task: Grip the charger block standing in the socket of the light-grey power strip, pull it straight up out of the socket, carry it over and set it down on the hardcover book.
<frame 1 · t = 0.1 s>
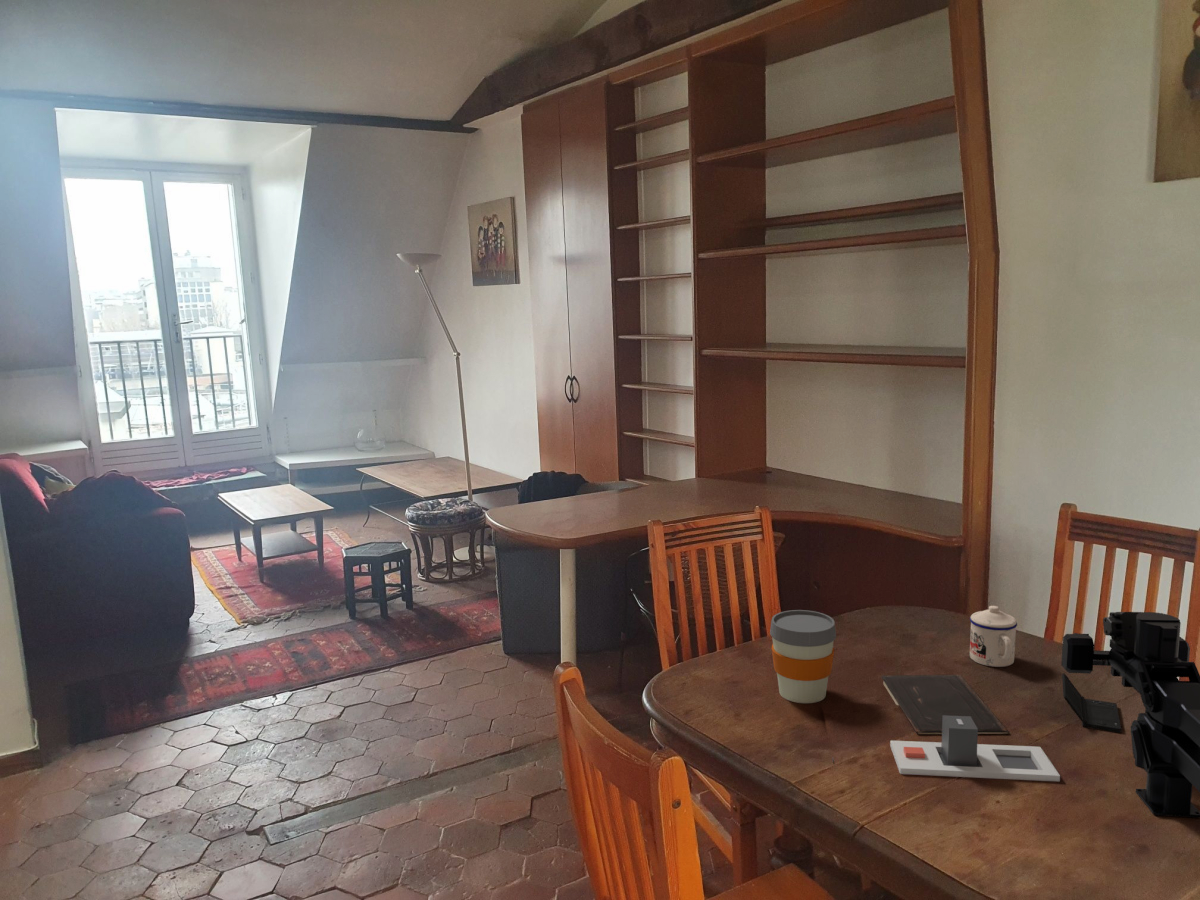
hand: (1103, 636, 152), 17 cm above the table, tool horizontal, fingers open, 9 cm apart
reusable coffee cup: (802, 693, 171), on the table
power strip: (971, 768, 142), on the table
charger: (958, 762, 142), point 1 cm above the table, touching power strip
handheld gaming console: (1089, 717, 158), on the table
hardcover book: (940, 713, 162), on the table
teacup with lid: (994, 662, 182), on the table
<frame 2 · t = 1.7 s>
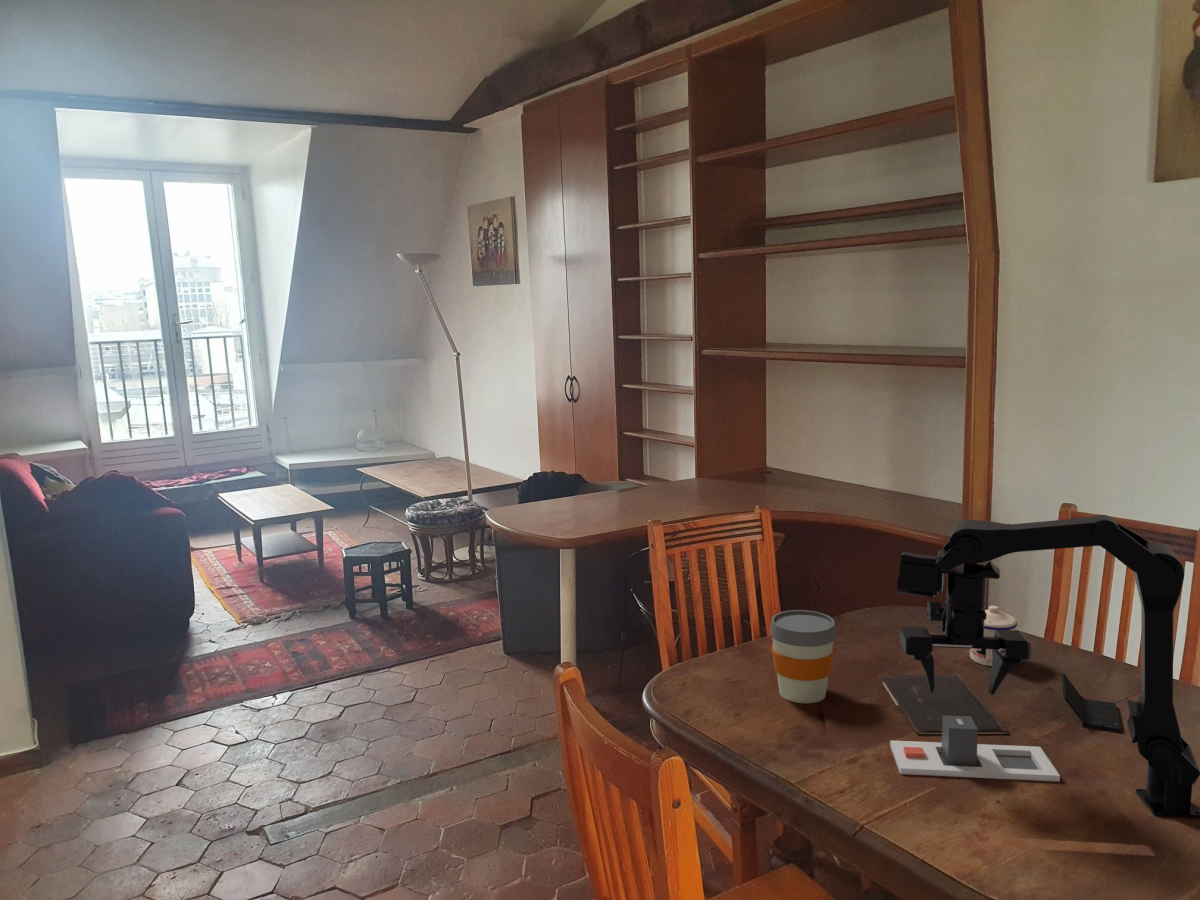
hand: (961, 692, 140), 13 cm above the table, tool pointing down, fingers open, 9 cm apart
nothing on the table moved.
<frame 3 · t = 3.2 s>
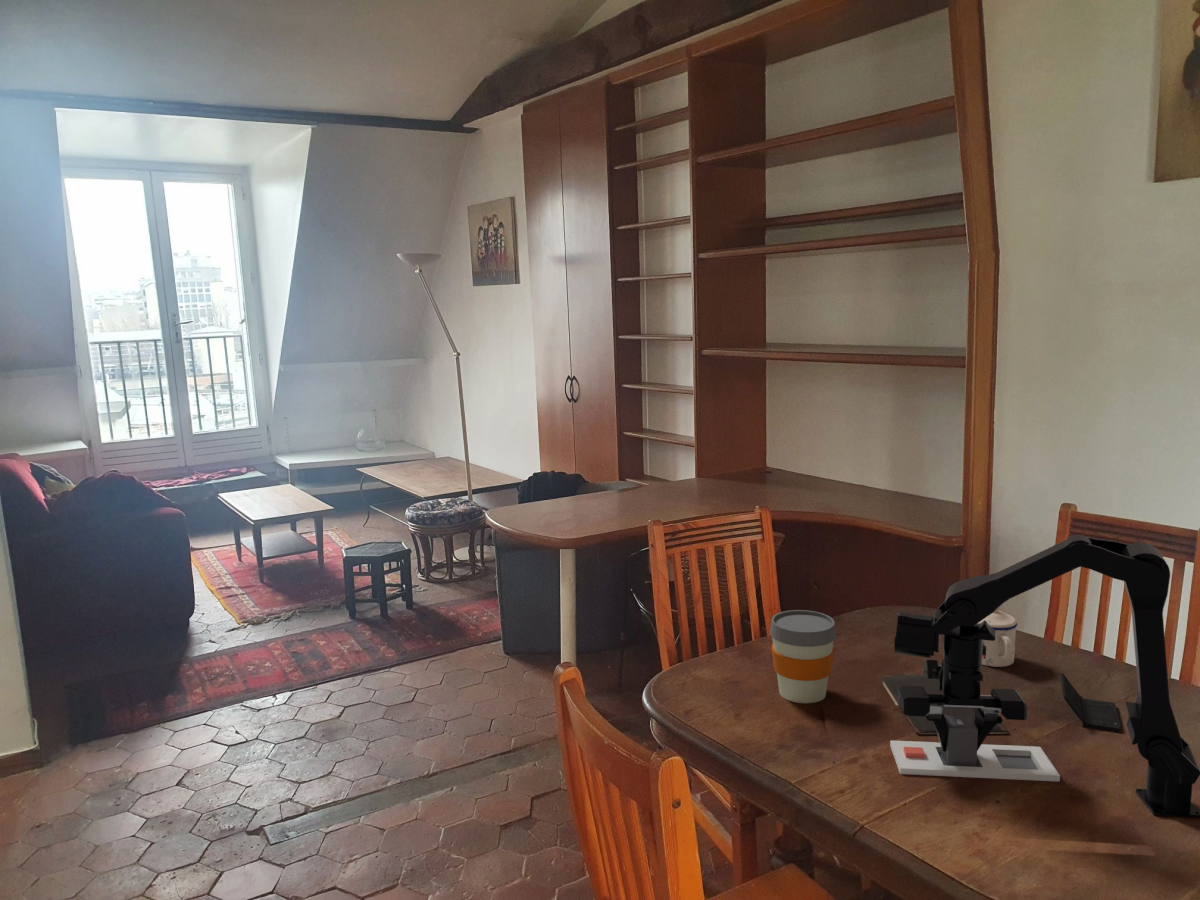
hand: (958, 750, 142), 3 cm above the table, tool pointing down, fingers closed on charger, 4 cm apart
charger: (958, 762, 142), point 1 cm above the table, touching gripper, power strip
everything else where it was.
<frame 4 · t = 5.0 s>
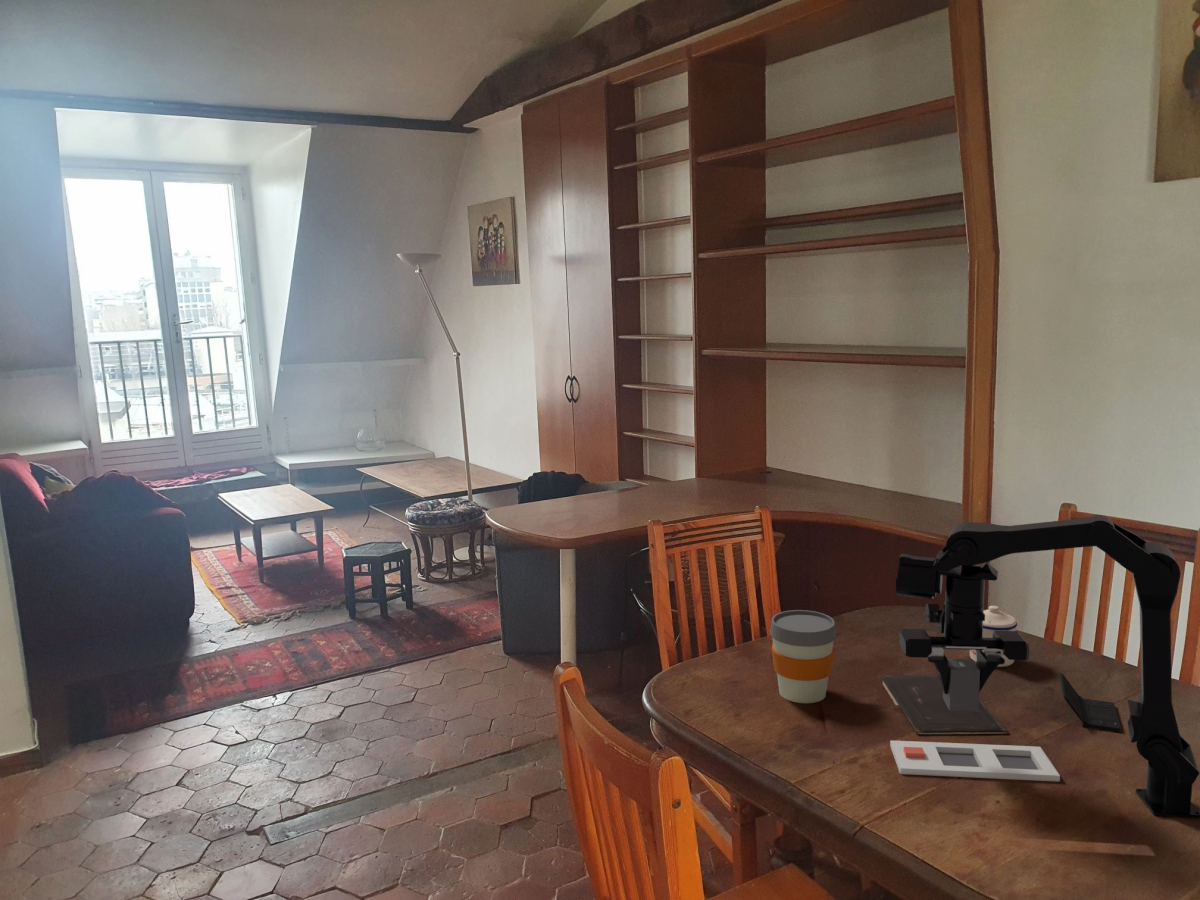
hand: (960, 693, 141), 12 cm above the table, tool pointing down, fingers closed on charger, 4 cm apart
charger: (960, 704, 141), point 11 cm above the table, touching gripper
everything else where it was.
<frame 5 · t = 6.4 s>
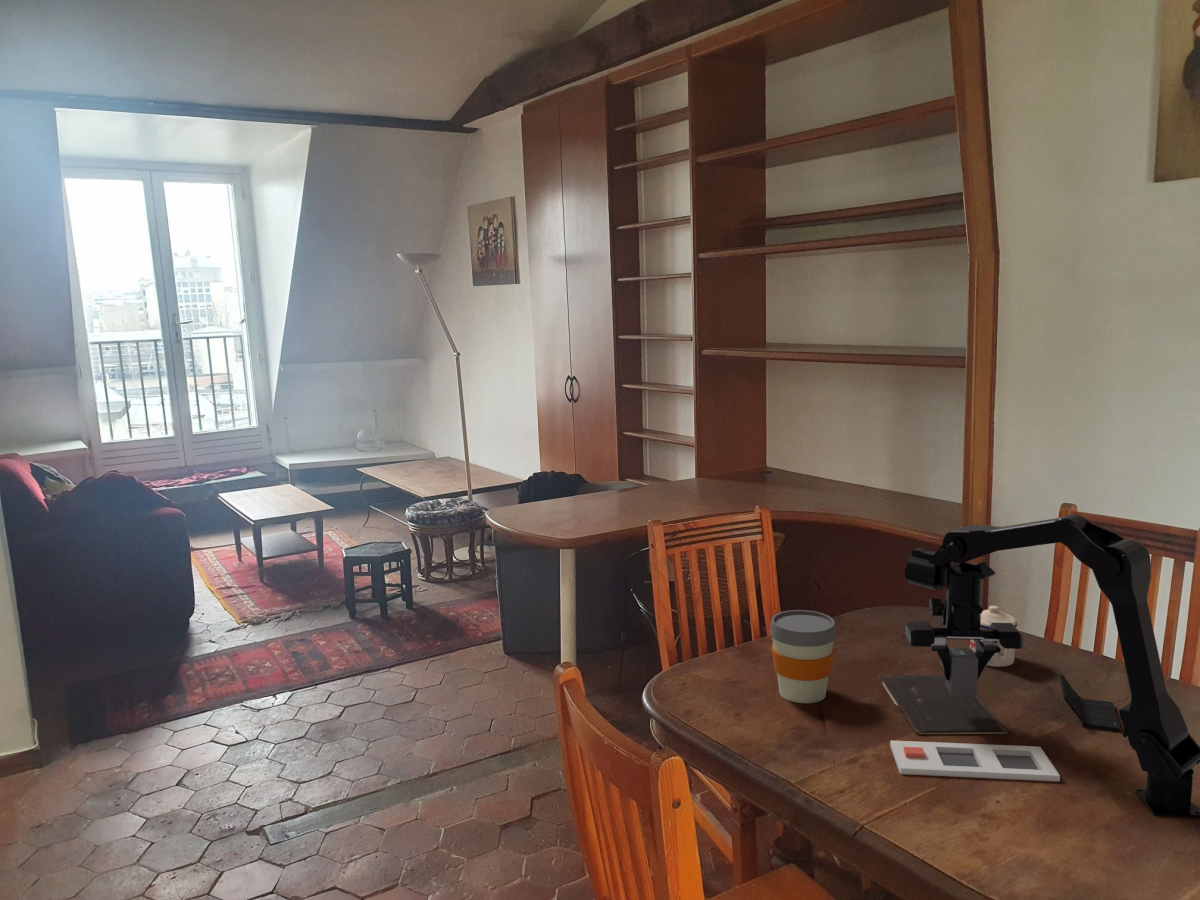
hand: (961, 679, 156), 8 cm above the table, tool pointing down, fingers closed on charger, 4 cm apart
charger: (960, 689, 156), point 6 cm above the table, touching gripper
everything else where it was.
when the fingers open (6 cm above the table, at t = 7.1 s): charger drops 2 cm, resting on hardcover book.
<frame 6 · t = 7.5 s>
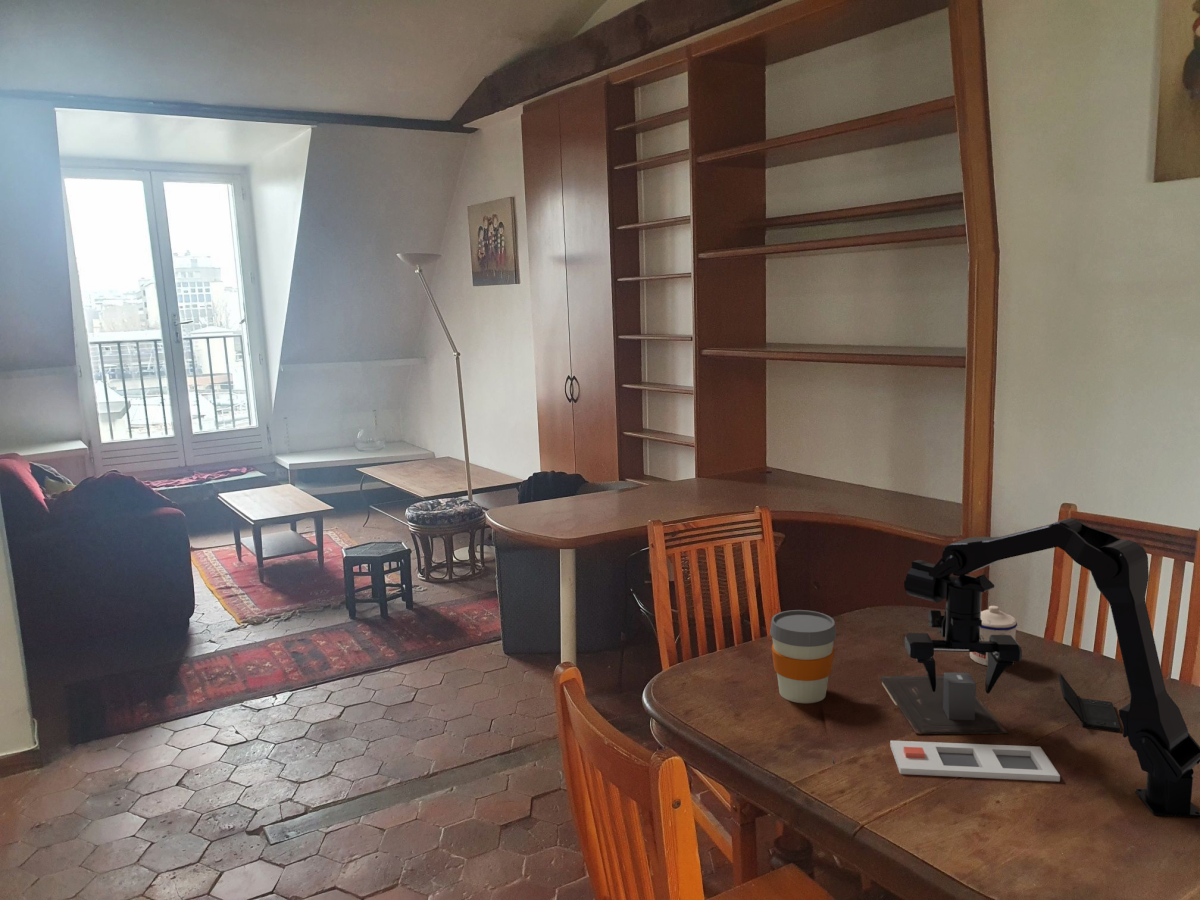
hand: (960, 691, 156), 6 cm above the table, tool pointing down, fingers open, 9 cm apart
charger: (958, 714, 157), point 2 cm above the table, touching hardcover book
hardcover book: (939, 714, 162), on the table, touching charger
everything else where it was.
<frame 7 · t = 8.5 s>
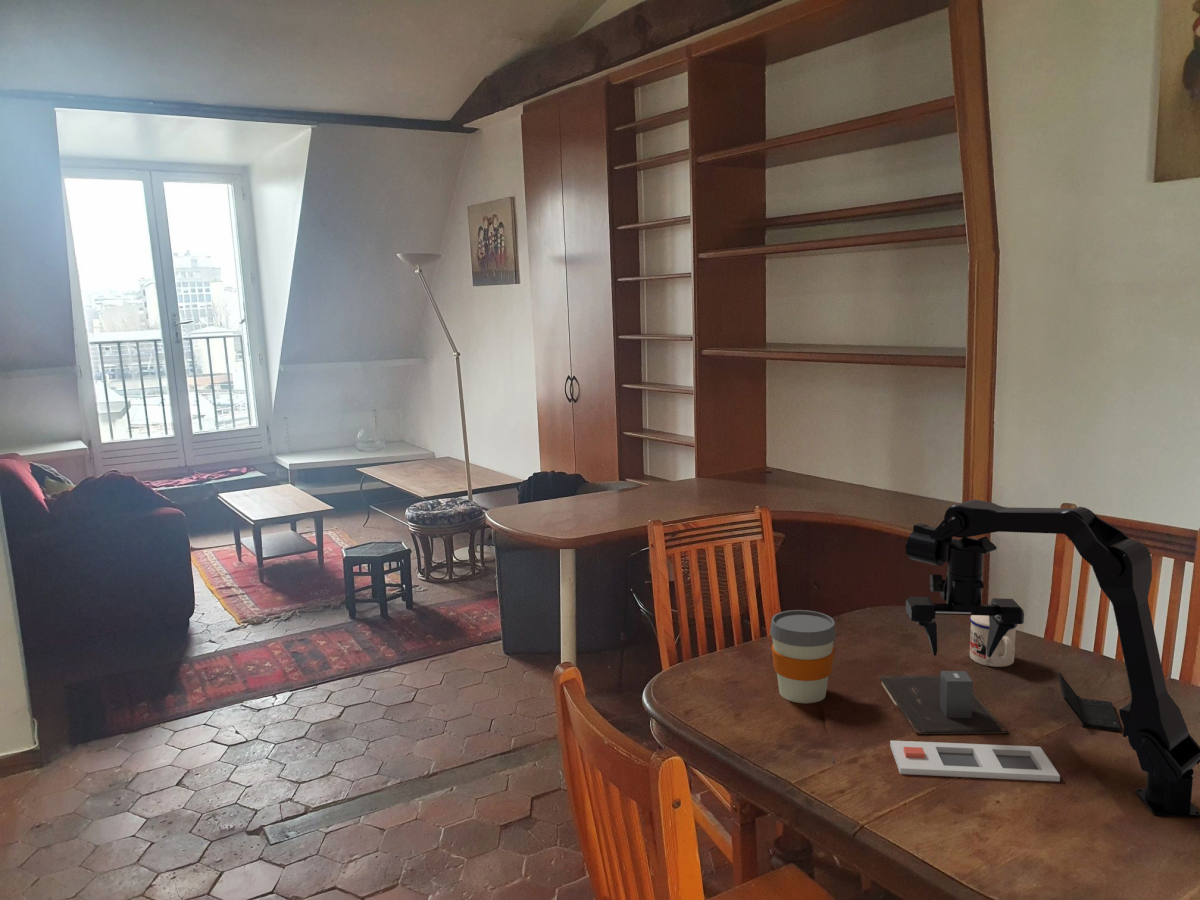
hand: (961, 655, 155), 13 cm above the table, tool pointing down, fingers open, 9 cm apart
nothing on the table moved.
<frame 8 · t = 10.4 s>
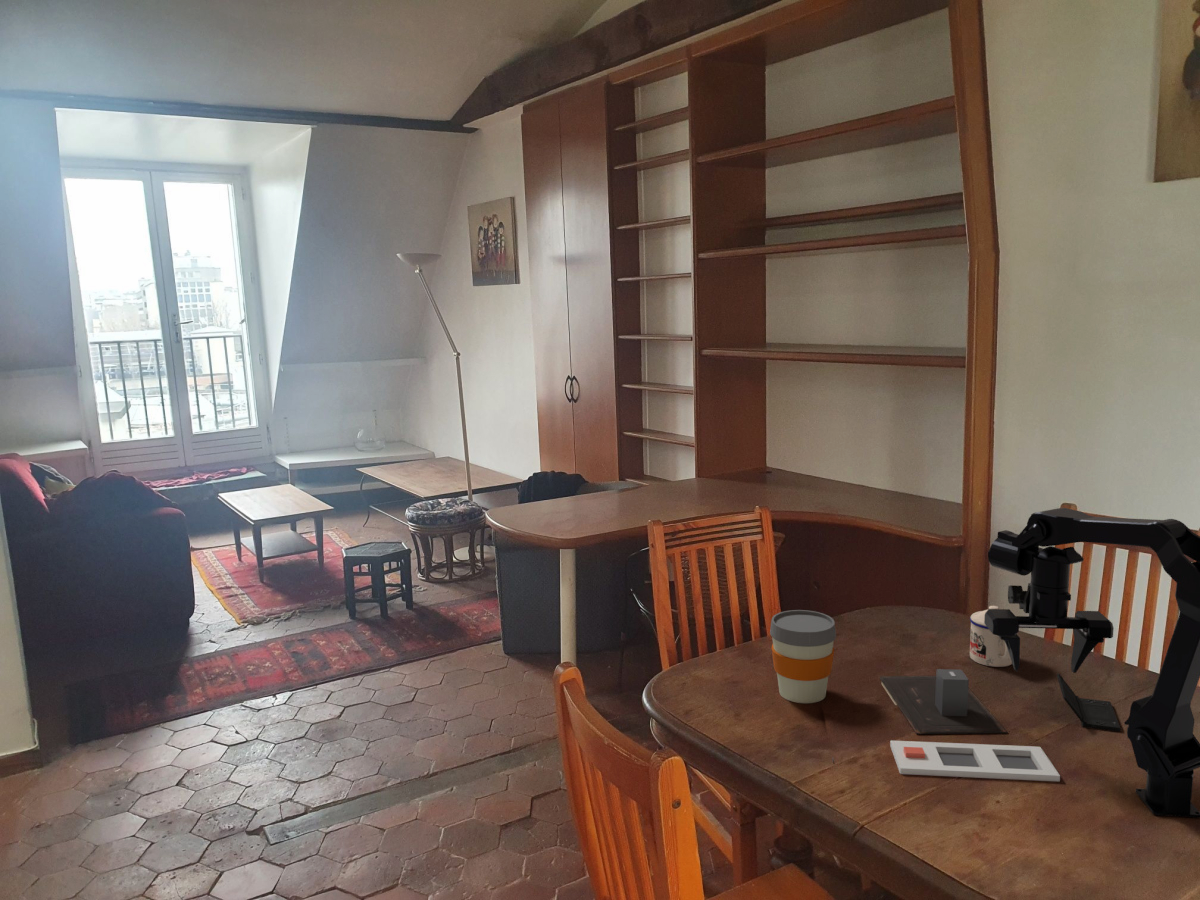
hand: (1044, 671, 147), 13 cm above the table, tool pointing down, fingers open, 9 cm apart
charger: (950, 710, 159), point 1 cm above the table, touching hardcover book
everything else where it was.
at the end: charger inside the target area (0.4 cm from its centre), point 1.5 cm above the table; charger touching nothing; the gripper is holding nothing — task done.
